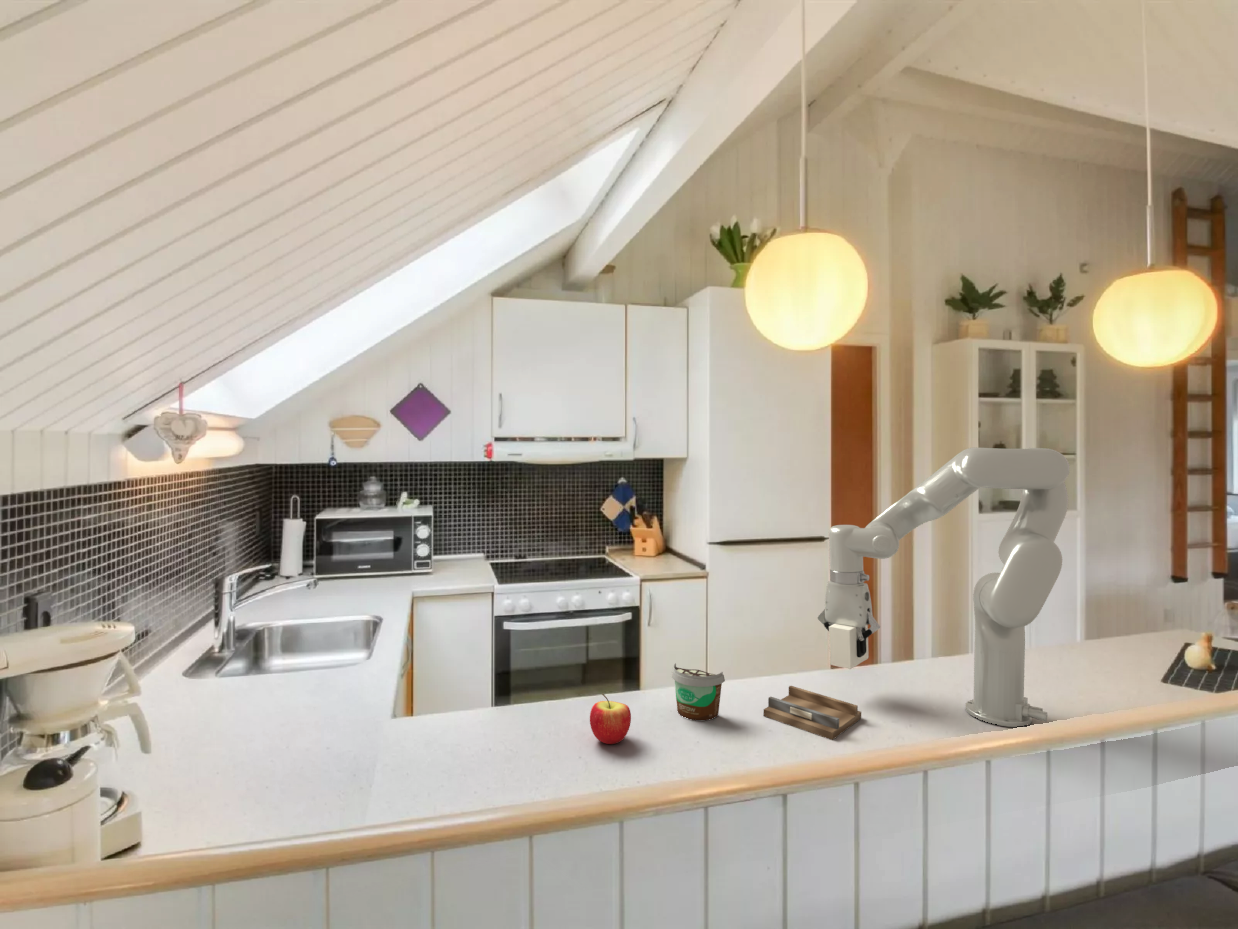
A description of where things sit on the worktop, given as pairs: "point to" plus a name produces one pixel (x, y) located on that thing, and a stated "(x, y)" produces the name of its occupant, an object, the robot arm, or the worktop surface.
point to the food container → (697, 693)
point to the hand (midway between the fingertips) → (848, 652)
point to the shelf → (813, 712)
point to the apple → (610, 721)
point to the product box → (845, 646)
